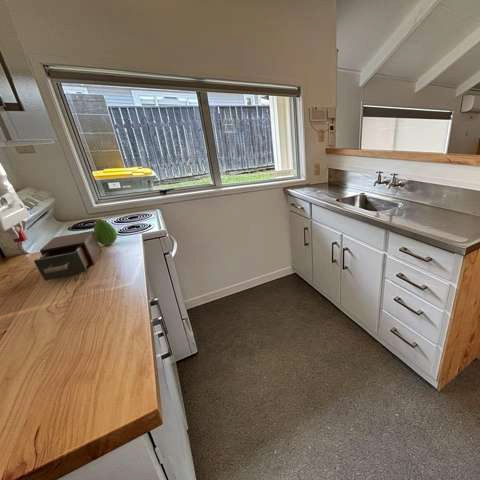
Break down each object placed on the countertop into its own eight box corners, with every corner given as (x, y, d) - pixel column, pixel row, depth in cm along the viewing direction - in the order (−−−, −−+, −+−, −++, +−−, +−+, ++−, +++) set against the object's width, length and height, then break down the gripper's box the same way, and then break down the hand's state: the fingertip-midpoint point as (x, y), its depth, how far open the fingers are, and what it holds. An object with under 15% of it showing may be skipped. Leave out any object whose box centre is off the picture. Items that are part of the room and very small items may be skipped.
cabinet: (94, 264, 100) (84, 242, 96) (51, 273, 95) (39, 250, 91) (101, 251, 112) (93, 230, 108) (64, 258, 106) (53, 237, 103)
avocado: (103, 249, 114) (92, 223, 109) (95, 246, 118) (85, 221, 113) (123, 242, 120) (114, 218, 115) (115, 239, 124) (106, 216, 119)
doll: (14, 242, 90) (6, 228, 88) (17, 240, 92) (9, 226, 89) (24, 241, 91) (17, 226, 89) (27, 239, 93) (20, 224, 91)
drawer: (83, 277, 89) (73, 257, 86) (39, 287, 84) (27, 267, 81) (94, 257, 104) (87, 239, 101) (57, 265, 99) (48, 246, 96)
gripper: (0, 194, 92) (19, 230, 98) (-35, 206, 76) (-10, 248, 81) (24, 191, 95) (42, 226, 100) (-5, 203, 78) (18, 244, 84)
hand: (18, 236), depth 91 cm, fingers closed on doll, 2 cm apart
